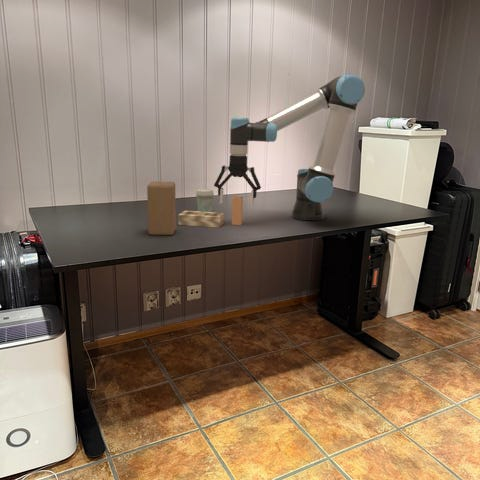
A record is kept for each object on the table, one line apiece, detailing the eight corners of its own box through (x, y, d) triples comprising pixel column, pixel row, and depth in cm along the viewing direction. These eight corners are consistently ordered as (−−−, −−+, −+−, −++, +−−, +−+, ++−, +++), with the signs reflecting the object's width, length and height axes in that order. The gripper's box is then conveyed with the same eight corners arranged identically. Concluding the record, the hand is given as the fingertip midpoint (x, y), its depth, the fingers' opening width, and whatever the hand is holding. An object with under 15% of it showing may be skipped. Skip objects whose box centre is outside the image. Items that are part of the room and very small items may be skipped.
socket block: (223, 222, 208) (223, 213, 206) (219, 227, 199) (219, 217, 198) (184, 220, 211) (184, 210, 209) (178, 224, 202) (178, 214, 201)
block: (176, 229, 194) (175, 181, 189) (173, 235, 185) (172, 185, 179) (151, 229, 194) (150, 181, 189) (148, 235, 184) (146, 184, 179)
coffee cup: (197, 217, 217) (197, 191, 214) (194, 213, 225) (194, 188, 222) (215, 216, 219) (215, 191, 216) (211, 213, 227) (211, 188, 224)
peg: (242, 223, 208) (242, 196, 205) (240, 225, 204) (241, 198, 201) (233, 222, 209) (233, 196, 206) (231, 224, 205) (232, 197, 202)
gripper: (268, 155, 200) (266, 204, 206) (212, 152, 204) (210, 200, 210) (266, 157, 193) (264, 207, 199) (207, 154, 197) (206, 203, 203)
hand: (236, 204), depth 204 cm, fingers open, 13 cm apart
